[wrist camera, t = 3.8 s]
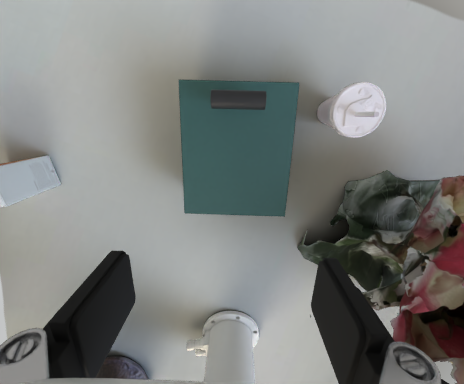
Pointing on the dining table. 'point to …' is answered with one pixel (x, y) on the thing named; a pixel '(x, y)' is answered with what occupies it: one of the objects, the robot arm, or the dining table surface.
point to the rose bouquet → (407, 258)
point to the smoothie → (354, 110)
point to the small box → (26, 179)
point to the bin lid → (237, 145)
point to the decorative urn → (121, 369)
